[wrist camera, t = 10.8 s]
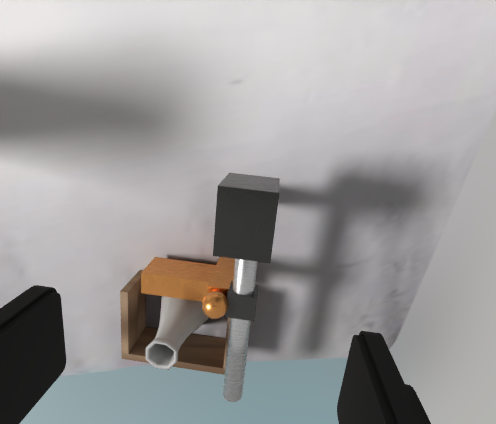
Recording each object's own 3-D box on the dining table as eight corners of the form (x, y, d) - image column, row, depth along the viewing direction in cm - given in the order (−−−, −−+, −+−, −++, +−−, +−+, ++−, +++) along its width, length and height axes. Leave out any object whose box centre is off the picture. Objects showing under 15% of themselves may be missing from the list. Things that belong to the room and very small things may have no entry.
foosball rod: (156, 150, 34) (85, 170, 22) (279, 164, 33) (279, 192, 21) (154, 334, 41) (98, 429, 28) (256, 349, 40) (245, 455, 28)
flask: (227, 287, 39) (210, 342, 30) (205, 332, 41) (183, 397, 32) (172, 262, 39) (137, 310, 29) (153, 309, 41) (114, 368, 31)
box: (139, 270, 40) (120, 291, 35) (241, 284, 39) (236, 307, 34) (139, 331, 42) (121, 358, 37) (235, 345, 41) (229, 375, 36)
